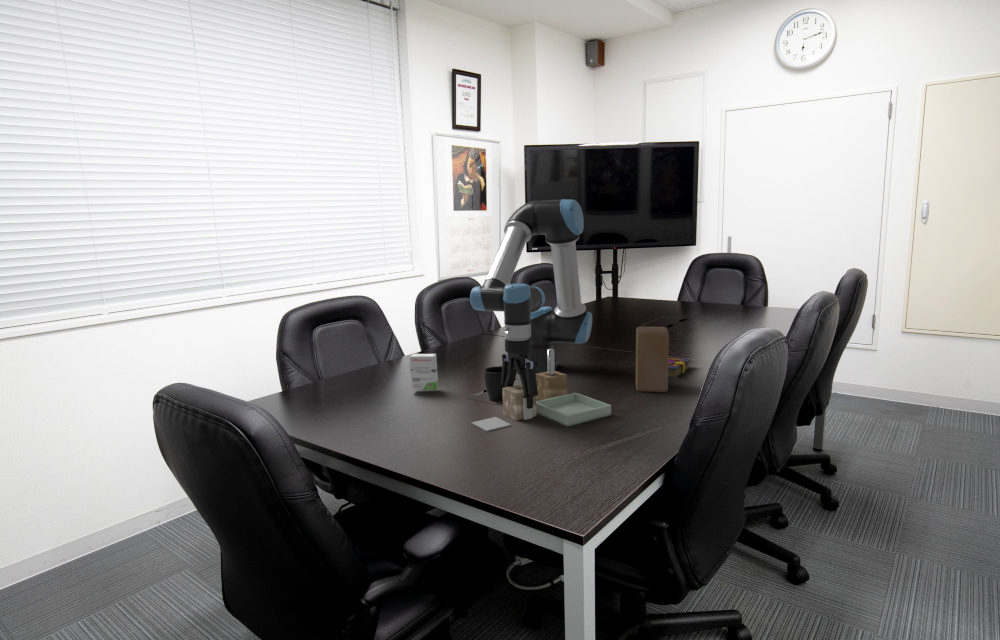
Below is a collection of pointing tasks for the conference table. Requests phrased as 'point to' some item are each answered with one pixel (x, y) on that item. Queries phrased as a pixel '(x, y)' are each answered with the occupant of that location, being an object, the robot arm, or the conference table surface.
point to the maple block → (515, 402)
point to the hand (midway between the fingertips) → (519, 414)
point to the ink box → (423, 372)
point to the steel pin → (550, 362)
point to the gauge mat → (491, 424)
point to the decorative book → (677, 366)
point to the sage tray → (572, 409)
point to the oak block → (551, 385)
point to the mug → (494, 383)
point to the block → (652, 359)
